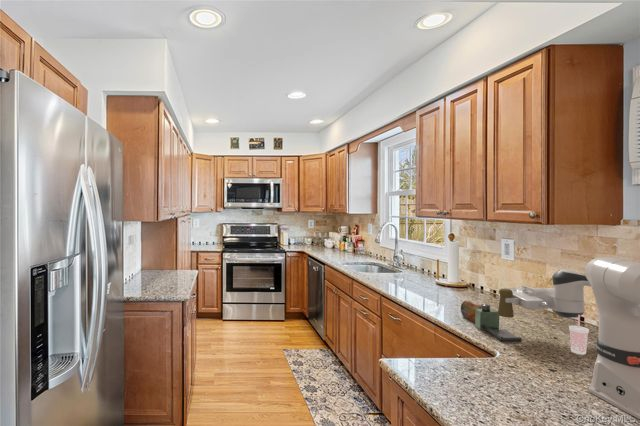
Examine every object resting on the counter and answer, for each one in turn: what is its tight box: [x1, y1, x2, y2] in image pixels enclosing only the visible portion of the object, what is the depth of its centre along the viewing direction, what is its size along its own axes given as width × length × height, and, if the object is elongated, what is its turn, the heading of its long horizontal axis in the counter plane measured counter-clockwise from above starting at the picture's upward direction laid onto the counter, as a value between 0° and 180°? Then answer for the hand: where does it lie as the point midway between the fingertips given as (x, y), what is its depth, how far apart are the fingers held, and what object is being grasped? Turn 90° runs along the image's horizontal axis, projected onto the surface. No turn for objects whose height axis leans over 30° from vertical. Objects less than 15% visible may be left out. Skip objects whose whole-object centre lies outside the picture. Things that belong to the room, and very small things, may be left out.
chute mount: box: [474, 303, 523, 343], centre depth 148 cm, size 18×10×10 cm, turn 1°
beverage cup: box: [568, 315, 590, 356], centre depth 130 cm, size 6×6×14 cm
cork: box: [497, 287, 515, 318], centre depth 145 cm, size 6×6×11 cm
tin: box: [460, 300, 481, 323], centre depth 165 cm, size 15×3×8 cm, turn 14°
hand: (501, 298), depth 145 cm, fingers closed on cork, 3 cm apart
